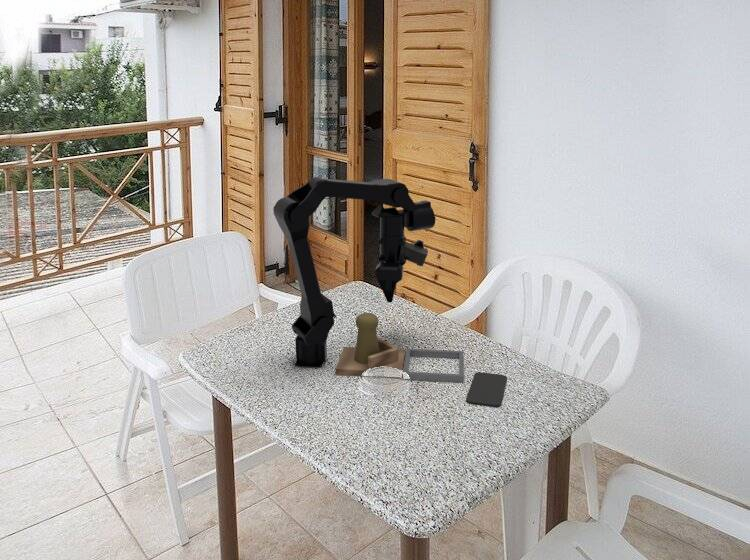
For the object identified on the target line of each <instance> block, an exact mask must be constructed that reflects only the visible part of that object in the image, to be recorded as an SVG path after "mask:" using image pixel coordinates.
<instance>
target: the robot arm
mask: <svg viewBox="0 0 750 560" xmlns="http://www.w3.org/2000/svg"><path fill="white" fill-rule="evenodd" d="M409 193H410V192H409V188H408V186H407V185H406V184H404V183H402V182H399V181H397V180H394V179H390V178H382V179H375V180H374V179H373V180H372V181H359V180H358V181H357V180H345V179H333V178H323V177H320V176H315V177H312V178H310V179H309V180H308V181H307V182H306V183H305V184H303V185H301V186H299V187H298V188H296V189H295V190H292V191H291V192H290V193H289V194H288V195H287V196H284V197H282V198H280V199H278V200H277V201H276V203H274V204H275V205H274V206H273V216H274V217H275V219H276V221H277V225H278V227H279V228H280V230H281V231H282V233H283V235H284V236H285V238H286V239H287V243H288V247H289V251H290V255H291V258H292V262H293V263H292V264H293V266H294V267H293V268H294V270H295V275H296V279H297V282H298V286H299V290H300V294H301V295H300V297H301V298H300V304H299V309H300V311H299V312H300V313H299V314H300V315H299V316H298V317H297V318H296V320H295V321H294V322H293V323H292V324H291V329H292V331H293V333H294V334H296V335H297V336H296V337H295V341H294V343H295V361H294V367H298V368H299V367H301V368H303V367H304V368H323V366H324V363H325V362H326V361H327V358H328V348H327V346H328V344H327V340H328V337H329V334H330V330H332V328H333V326H335V318H337V315H336V313H335V312H334V304H333V301H332V300H331V299H330V298H328V297H327V296H326V295H325V294H323V293H322V292H321V287H320V284H319V279H318V276H317V270H316V267H315V263H314V259H313V255H312V251H311V246H310V243H309V242H310V241H309V231H310V217H311V216H312V215H313V214H314V213H315V212H316V211H317V210H318V208H319V206H320V205H321V203H322V202H323V201H324V200H325V199H327V198H336V199H351V200H366V201H371V202H372V201H373V202H376V203H380V204H382V205H385V206H389V207H384V206H382V205H377V207H376V208H375V209H373V211H372V212H371V215H372V216H374V217H376V218H378V219H379V227H380V228H379V239H378V244H379V256H378V261H380V262H379V263H378V264H377V265H376V267H375V270H374V278H375V280H376V281H377V282H378V284H379V287H380V289H381V291H382V293H383V295H384V297H385V300H386V302H387V303H392V302H393V301H394V300H393V299H394V294H395V290H396V288H397V284H398V283H399V282H401V281H402V279H403V275H404V265H405V264H406V263H407V261H408V262H411V263H413V264H416V266H418V267H423V266H424V264H425V262H426V259H427V257H428V255H429V250H428V248H427V247H425V243H424V242H425V241H422V240H420V239H417V240H416V241H414V243H413V242H411V243H410V242H407V237H406V235H405V228H406V230H407V231H408V232H417V231H421V230H430V229H431V230H432V229H433V228H434V227H435V224H436V216H435V211H434V209H433V208H432V205H431V204H432V203H431V201H429V200H421V201H418V202H417V201H416V202H414V200H413V199H412V197H411V196H410V195H409ZM397 208H401V209H397Z"/></svg>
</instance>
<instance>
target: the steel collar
mask: <svg viewBox="0 0 750 560" xmlns="http://www.w3.org/2000/svg"><path fill="white" fill-rule="evenodd" d="M405 350H406V356H405V362H404V368H403V372H406V373H407V374H408V375H409V377H410V379H411V380H410V381H425V382H427V381H428V382H445V383H446V382H448V383H465V365H464V363H465V362H464V361H465V359H464V357H465V356H464V354H465V353H464V350H444V349H443V350H442V349H427V348H425V349H424V348H423V349H421V348H406V349H405ZM411 357H421V358H426V357H427V358H440V359H442V358H443V359H458V373H446V372H445V373H441V372H424V371H423V372H422V371H421V372H420V371H409V369H410V368H409V367H410V362H411Z"/></svg>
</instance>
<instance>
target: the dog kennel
mask: <svg viewBox="0 0 750 560" xmlns="http://www.w3.org/2000/svg"><path fill="white" fill-rule="evenodd" d="M377 339H378V347H379V353H377V354H374V355H371V356H368V364H360V363H357V362H356V361H355V360H354V357H355V350H356V346H355V347H354V346H343V348H342V351H341V352H340V357H339V359H338V361H337V364H336V367H335V376H348V377H351V376H353V377H362V376H361V375H362V373H363V372H364V371H366V370H367V369H369V368H371V369H372V368H374V367H380V366H386V367H392V368H397V369H399V370H403V368H404V362H405V356H406V350H407V349H404V348H403V349H401V348H400V349H399V347H398V346H396V345H394V344H392V343H391V342H388V341H386V340H384V339H382V338H380V337H378V336H377Z"/></svg>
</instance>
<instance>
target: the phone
mask: <svg viewBox="0 0 750 560" xmlns="http://www.w3.org/2000/svg"><path fill="white" fill-rule="evenodd" d="M507 381H508V377H507V375H504V374H499V373H488V372H480V371H478V372H475V373H474V375H473V377H472V381H471V383H470V387H469V389H468V392H467V395H466V399H465V402H466V404H469V405H475V406H476V405H477V406H483V407H491V408H499V407H501V406H502V403H503V399H504V395H505V394H504V393H505V389H506V385H507Z"/></svg>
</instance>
